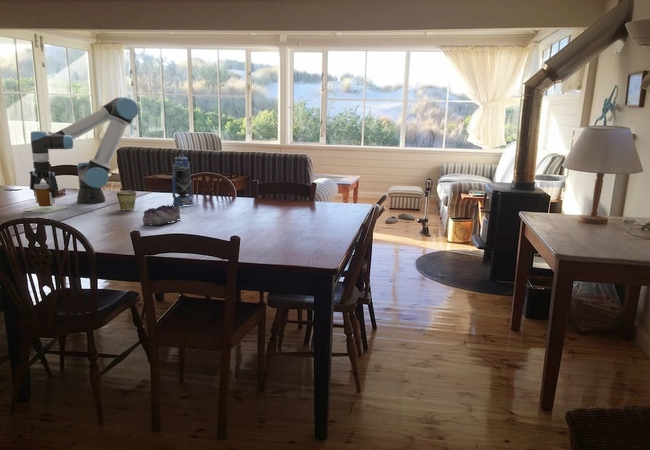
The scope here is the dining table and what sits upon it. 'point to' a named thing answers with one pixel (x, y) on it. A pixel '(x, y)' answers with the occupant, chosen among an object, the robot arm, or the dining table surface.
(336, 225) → the dining table surface
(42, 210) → the sage placemat
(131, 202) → the yellow green plant pot
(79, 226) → the dining table surface
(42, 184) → the disposable coffee cup
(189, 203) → the lantern
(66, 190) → the dining table surface
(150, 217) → the geode
